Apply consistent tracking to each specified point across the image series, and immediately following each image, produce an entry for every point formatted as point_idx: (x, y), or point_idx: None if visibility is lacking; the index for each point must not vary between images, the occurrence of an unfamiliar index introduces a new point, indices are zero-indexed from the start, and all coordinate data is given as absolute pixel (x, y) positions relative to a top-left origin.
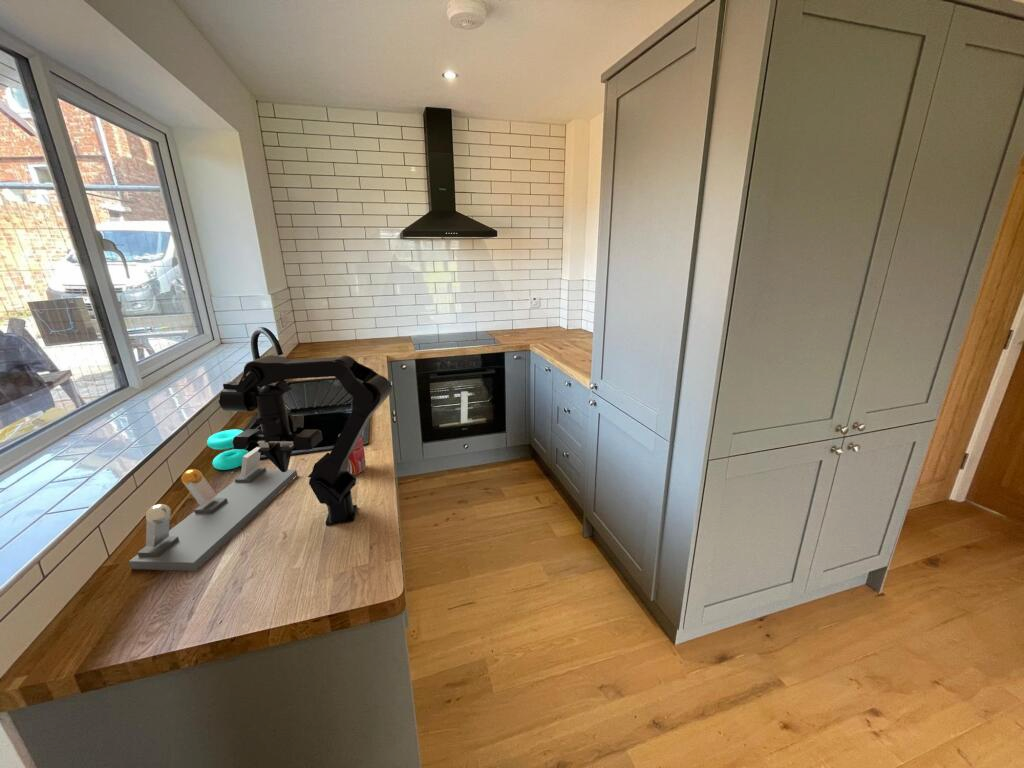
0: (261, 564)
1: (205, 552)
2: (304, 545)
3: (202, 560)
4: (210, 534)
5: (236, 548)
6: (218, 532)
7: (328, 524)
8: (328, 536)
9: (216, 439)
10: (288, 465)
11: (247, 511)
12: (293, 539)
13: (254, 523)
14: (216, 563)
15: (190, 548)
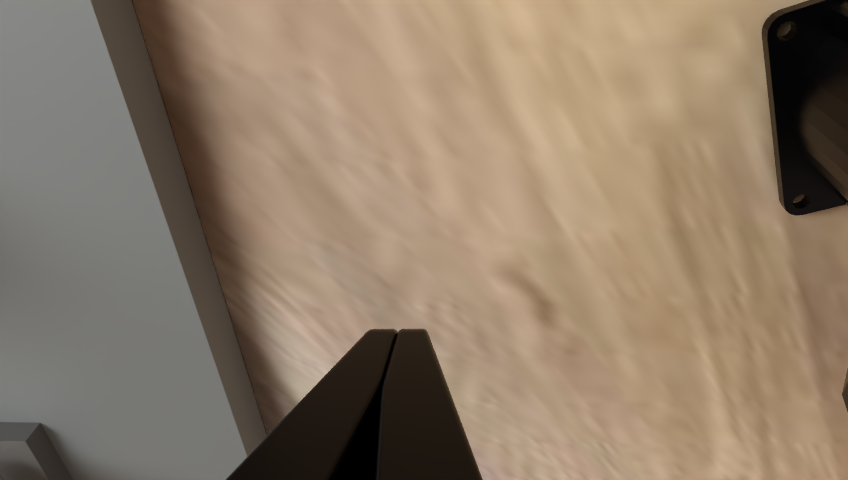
0: (542, 464)
1: None
2: (701, 364)
3: None
4: (145, 386)
5: None
6: (171, 373)
7: (806, 207)
8: (832, 297)
9: None
10: (446, 383)
11: (135, 187)
12: (608, 325)
13: (248, 206)
14: None
15: (161, 463)
